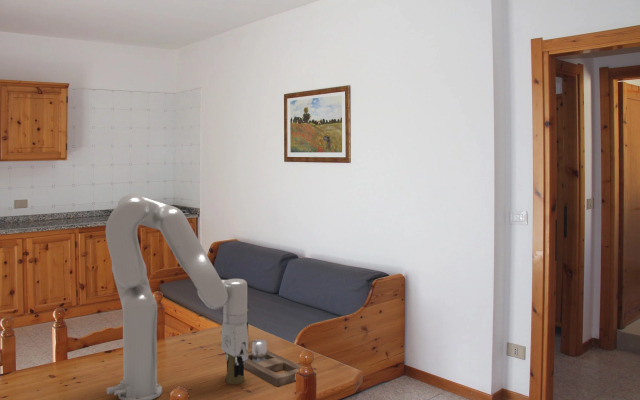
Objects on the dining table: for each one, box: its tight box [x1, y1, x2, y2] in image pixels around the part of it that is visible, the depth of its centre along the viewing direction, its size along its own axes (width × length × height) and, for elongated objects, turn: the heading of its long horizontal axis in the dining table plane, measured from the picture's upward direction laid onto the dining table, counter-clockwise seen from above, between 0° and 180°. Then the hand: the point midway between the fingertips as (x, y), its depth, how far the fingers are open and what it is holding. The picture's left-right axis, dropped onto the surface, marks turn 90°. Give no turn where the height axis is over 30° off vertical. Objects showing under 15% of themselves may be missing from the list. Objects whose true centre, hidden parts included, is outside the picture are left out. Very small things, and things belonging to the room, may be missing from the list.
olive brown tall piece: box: [225, 352, 245, 385], centre depth 176 cm, size 6×6×11 cm
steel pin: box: [251, 338, 268, 362], centre depth 190 cm, size 5×5×8 cm
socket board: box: [244, 349, 301, 387], centre depth 186 cm, size 13×27×2 cm, turn 39°
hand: (235, 373), depth 176 cm, fingers closed on olive brown tall piece, 4 cm apart
